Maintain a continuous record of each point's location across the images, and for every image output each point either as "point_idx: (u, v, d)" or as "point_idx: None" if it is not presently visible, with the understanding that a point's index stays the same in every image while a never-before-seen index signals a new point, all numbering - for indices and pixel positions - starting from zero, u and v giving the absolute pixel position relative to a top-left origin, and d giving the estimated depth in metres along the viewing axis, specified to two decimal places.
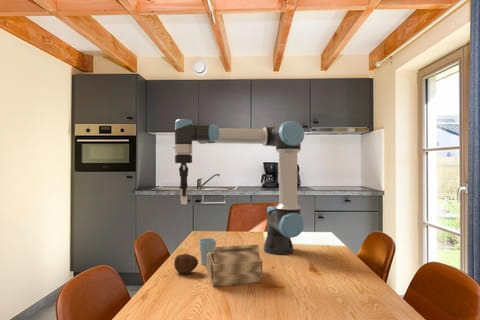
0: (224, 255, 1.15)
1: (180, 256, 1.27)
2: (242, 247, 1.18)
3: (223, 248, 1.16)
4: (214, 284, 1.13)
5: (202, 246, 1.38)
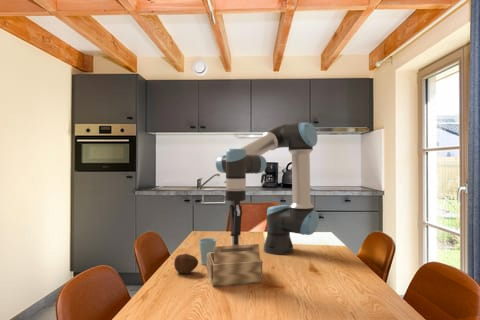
0: (225, 255, 1.14)
1: (180, 256, 1.27)
2: (243, 247, 1.17)
3: (223, 248, 1.15)
4: (214, 284, 1.13)
5: (202, 246, 1.38)
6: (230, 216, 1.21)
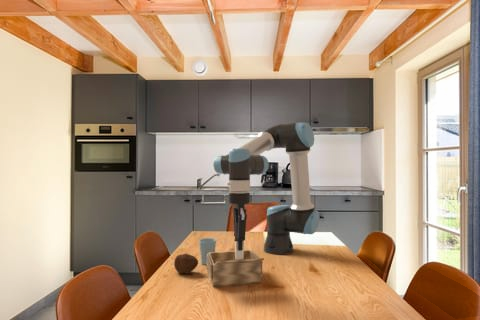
0: (226, 263, 1.11)
1: (180, 256, 1.27)
2: (247, 261, 1.10)
3: (226, 262, 1.09)
4: (214, 284, 1.13)
5: (202, 246, 1.38)
6: (234, 220, 1.14)
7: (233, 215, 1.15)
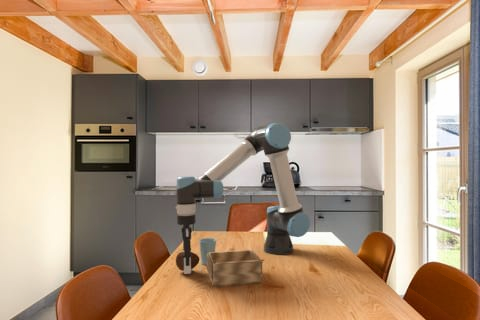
0: None
1: (181, 253, 1.28)
2: (247, 262, 1.10)
3: (226, 263, 1.08)
4: (214, 284, 1.13)
5: (202, 246, 1.38)
6: None
7: None
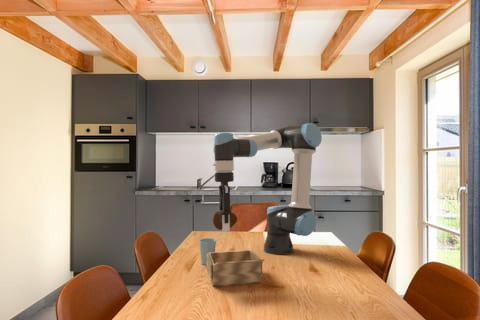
0: None
1: (219, 212, 1.24)
2: (247, 262, 1.10)
3: (226, 263, 1.08)
4: (214, 284, 1.13)
5: (202, 246, 1.38)
6: (219, 195, 1.30)
7: None
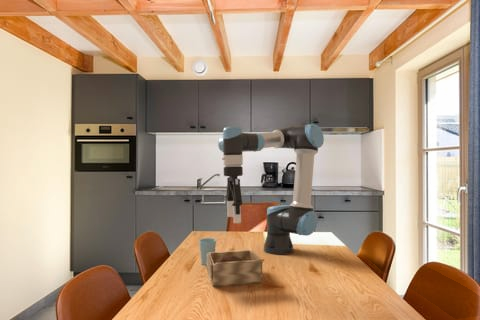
0: None
1: (226, 257, 1.23)
2: (247, 262, 1.10)
3: (226, 263, 1.08)
4: (214, 284, 1.13)
5: (202, 246, 1.38)
6: (227, 187, 1.30)
7: (227, 182, 1.30)
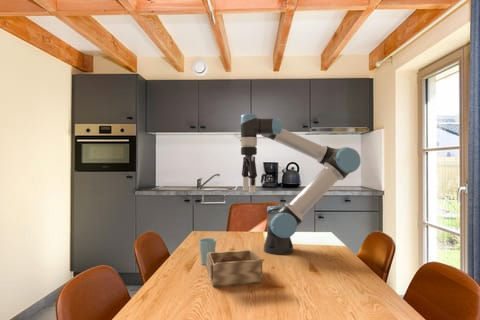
0: None
1: (226, 257, 1.23)
2: (247, 262, 1.10)
3: (226, 263, 1.08)
4: (214, 284, 1.13)
5: (202, 246, 1.38)
6: (243, 165, 1.55)
7: (243, 161, 1.55)
